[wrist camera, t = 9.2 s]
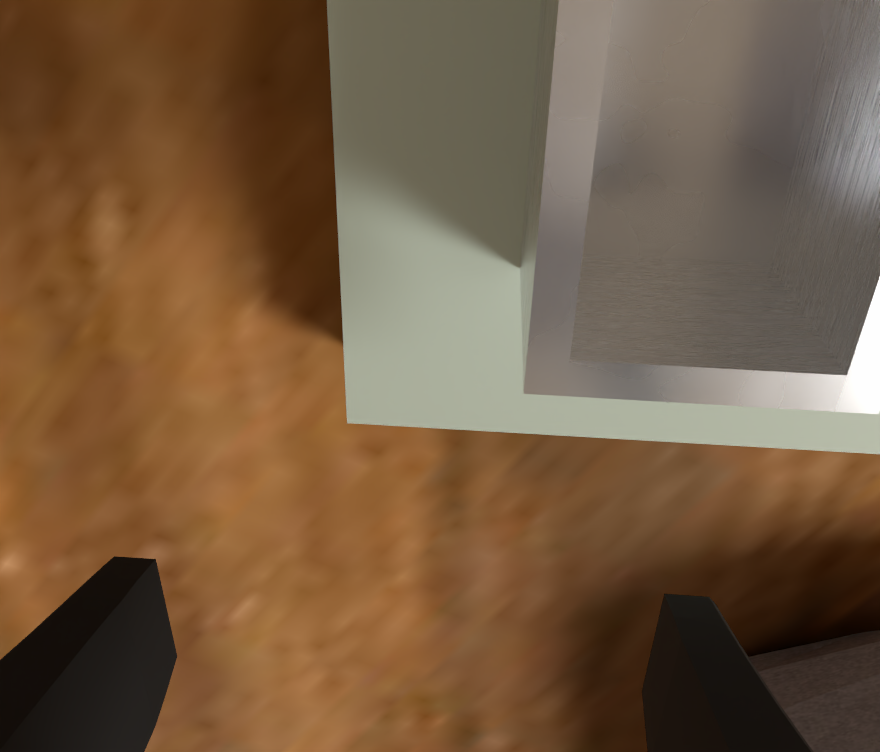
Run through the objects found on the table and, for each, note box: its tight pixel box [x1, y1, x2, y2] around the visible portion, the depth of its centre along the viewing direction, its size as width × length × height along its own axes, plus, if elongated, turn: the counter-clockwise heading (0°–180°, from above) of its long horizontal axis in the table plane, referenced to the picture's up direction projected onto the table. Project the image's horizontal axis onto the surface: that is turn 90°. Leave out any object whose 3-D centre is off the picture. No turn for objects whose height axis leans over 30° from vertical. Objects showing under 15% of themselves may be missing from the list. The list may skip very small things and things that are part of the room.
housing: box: [520, 0, 880, 414], centre depth 11 cm, size 5×9×4 cm, turn 179°
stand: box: [327, 0, 880, 454], centre depth 14 cm, size 12×16×3 cm
